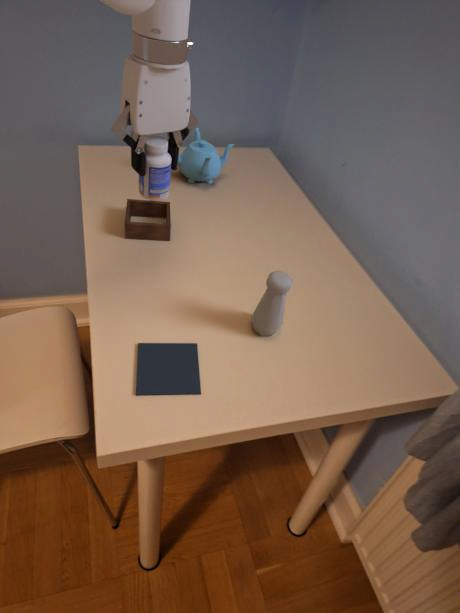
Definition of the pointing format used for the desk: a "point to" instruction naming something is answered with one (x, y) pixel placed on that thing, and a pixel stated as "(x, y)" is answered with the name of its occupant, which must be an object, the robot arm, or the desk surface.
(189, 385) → the mat
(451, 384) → the desk surface
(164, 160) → the pill bottle
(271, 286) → the salt shaker
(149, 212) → the caddy
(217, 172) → the teapot
